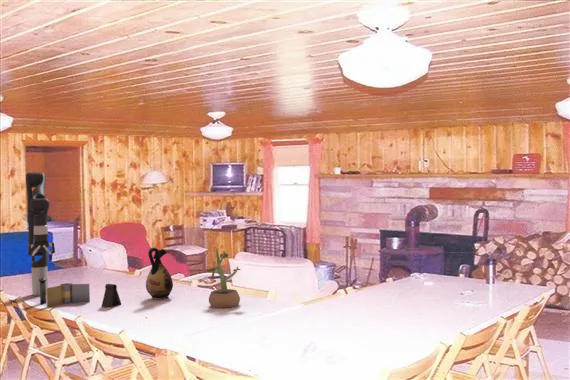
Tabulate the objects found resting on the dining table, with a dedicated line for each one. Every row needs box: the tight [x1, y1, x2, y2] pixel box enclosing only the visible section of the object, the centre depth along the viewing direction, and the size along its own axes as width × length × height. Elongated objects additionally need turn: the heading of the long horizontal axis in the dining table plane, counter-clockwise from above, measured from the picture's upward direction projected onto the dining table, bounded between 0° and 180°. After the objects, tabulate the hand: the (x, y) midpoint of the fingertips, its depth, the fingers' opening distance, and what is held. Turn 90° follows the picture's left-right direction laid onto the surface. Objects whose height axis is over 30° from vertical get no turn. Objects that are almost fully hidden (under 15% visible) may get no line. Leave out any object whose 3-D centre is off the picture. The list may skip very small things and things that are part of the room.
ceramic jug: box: [145, 247, 174, 300], centre depth 363 cm, size 17×15×30 cm
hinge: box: [46, 282, 91, 308], centre depth 356 cm, size 10×23×10 cm, turn 118°
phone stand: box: [101, 283, 122, 309], centre depth 346 cm, size 9×6×12 cm, turn 146°
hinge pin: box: [38, 278, 47, 305], centre depth 358 cm, size 4×4×14 cm
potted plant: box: [205, 249, 242, 309], centre depth 342 cm, size 22×18×30 cm
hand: (41, 261), depth 357 cm, fingers open, 8 cm apart
